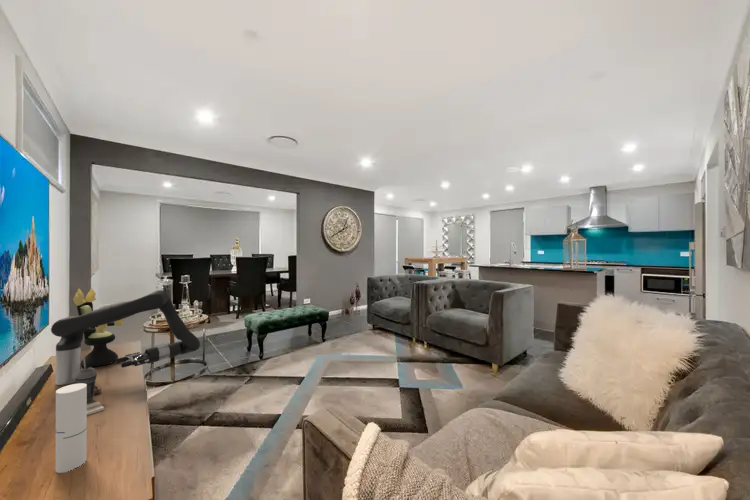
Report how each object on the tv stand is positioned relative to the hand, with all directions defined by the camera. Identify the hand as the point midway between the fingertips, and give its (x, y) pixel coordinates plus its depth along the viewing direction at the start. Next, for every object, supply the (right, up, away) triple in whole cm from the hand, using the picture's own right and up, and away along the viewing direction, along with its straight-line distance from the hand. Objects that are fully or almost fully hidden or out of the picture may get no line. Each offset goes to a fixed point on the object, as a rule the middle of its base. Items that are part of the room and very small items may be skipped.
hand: (118, 363), depth 149 cm
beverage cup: (-7, -14, -9) cm, 18 cm away
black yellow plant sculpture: (-44, -13, +36) cm, 58 cm away
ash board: (-1, -14, -17) cm, 23 cm away
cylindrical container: (+25, -15, -48) cm, 57 cm away
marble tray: (-14, -14, -1) cm, 20 cm away
